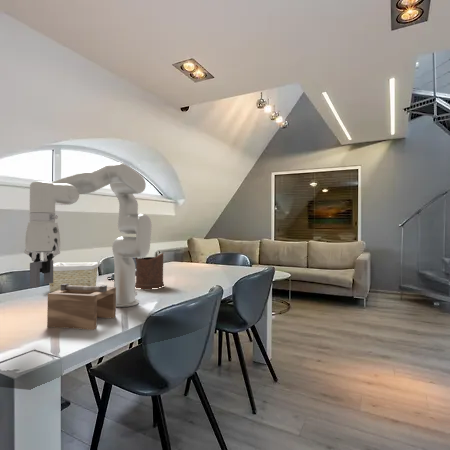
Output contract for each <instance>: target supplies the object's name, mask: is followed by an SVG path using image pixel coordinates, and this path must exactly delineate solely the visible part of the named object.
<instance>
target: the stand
mask: <svg viewBox="0 0 450 450" xmlns="http://www.w3.org/2000/svg"><path fill="white" fill-rule="evenodd" d="M116 309H117V307H116V287H114V286H108V285H100V286H97V285H96V286H77V285H75V286H72V285H69V284H61V290H58V291H55V292H49V293H47V309H46V310H47V316H46V317H47V318H46V319H47V320H46V327H47V328H60V329H74V330H75V329H76V330H89V331H94V330H96V329H97V326H98V325H97V322H98V321H97V320H98V319H97V318H101V319H103V318H104V319H115V318H116V315H117V314H116V312H117V310H116Z"/></svg>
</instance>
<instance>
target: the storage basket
mask: <svg viewBox="0 0 450 450" xmlns="http://www.w3.org/2000/svg"><path fill="white" fill-rule="evenodd" d="M98 267H99V262H98V261H95V262H93V261H91V262H89V261H87V262H83V261H81V262H62V261H61V262H59V261H58V262H55V263H53V283H51V284H49V283H48V285H49V293H52V292H55V291H58V290H61V284H69V285H72V286H75V285H77V286H97V276H98Z"/></svg>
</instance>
